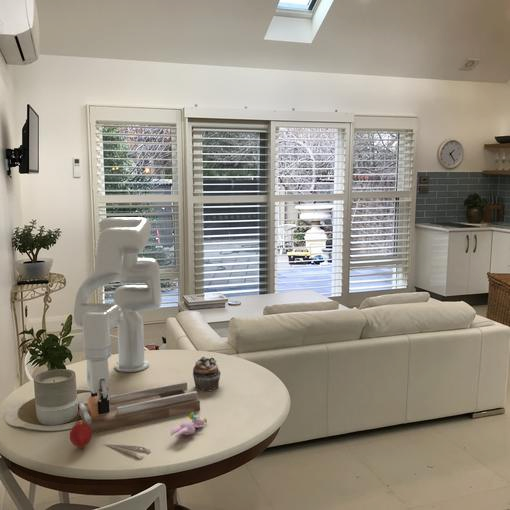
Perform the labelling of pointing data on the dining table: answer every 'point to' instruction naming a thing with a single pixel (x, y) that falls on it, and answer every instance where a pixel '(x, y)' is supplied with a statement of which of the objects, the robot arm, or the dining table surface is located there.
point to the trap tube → (142, 406)
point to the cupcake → (206, 374)
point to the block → (93, 406)
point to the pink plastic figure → (188, 426)
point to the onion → (81, 434)
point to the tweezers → (130, 448)
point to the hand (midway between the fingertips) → (100, 406)
